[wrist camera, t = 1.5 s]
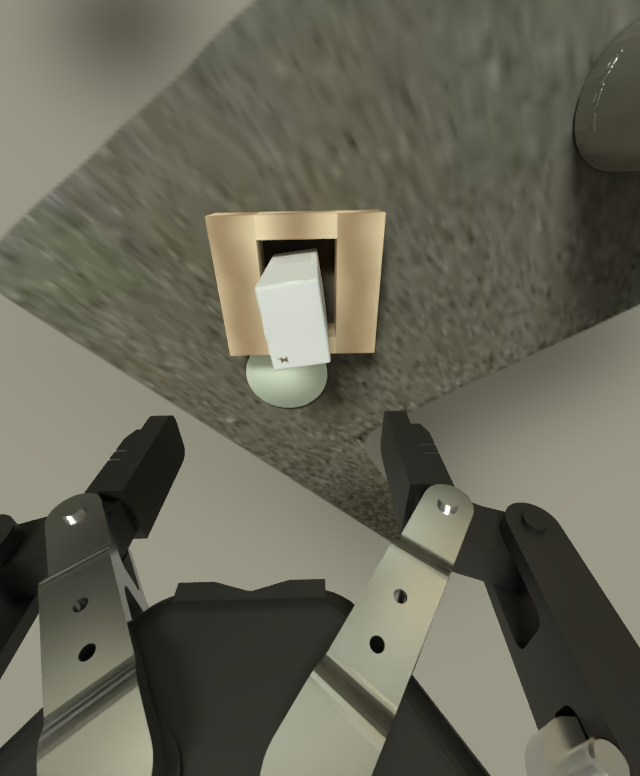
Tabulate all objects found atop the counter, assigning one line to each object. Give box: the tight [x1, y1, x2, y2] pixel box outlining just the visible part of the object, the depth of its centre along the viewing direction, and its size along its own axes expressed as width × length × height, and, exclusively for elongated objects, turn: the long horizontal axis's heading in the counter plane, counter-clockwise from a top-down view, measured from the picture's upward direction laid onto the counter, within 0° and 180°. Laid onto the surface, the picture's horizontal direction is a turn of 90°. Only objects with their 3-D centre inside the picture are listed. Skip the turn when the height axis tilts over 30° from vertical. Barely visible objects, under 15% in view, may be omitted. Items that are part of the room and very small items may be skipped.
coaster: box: [246, 355, 327, 408], centre depth 36 cm, size 9×9×1 cm
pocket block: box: [205, 210, 386, 356], centre depth 30 cm, size 14×12×4 cm
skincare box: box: [255, 248, 331, 371], centre depth 26 cm, size 6×4×12 cm
